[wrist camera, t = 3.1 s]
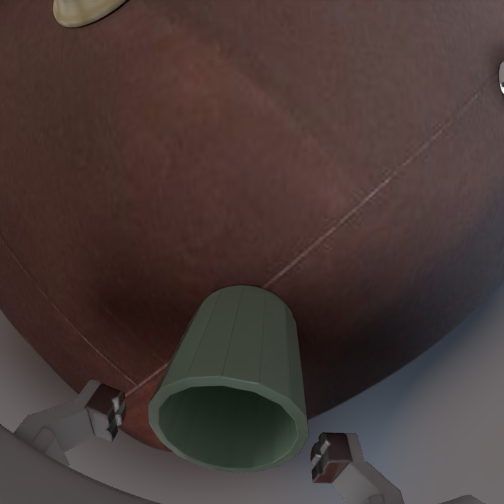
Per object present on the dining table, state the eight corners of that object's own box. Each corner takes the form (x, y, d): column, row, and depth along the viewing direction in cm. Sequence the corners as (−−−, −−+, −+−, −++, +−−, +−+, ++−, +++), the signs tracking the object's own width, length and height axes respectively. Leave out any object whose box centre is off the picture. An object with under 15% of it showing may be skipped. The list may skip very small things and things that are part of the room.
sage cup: (309, 297, 16) (332, 394, 9) (281, 379, 18) (282, 479, 11) (200, 273, 17) (147, 356, 9) (188, 359, 18) (150, 452, 11)
